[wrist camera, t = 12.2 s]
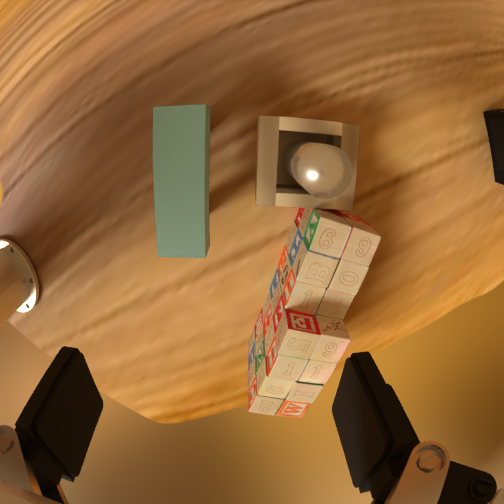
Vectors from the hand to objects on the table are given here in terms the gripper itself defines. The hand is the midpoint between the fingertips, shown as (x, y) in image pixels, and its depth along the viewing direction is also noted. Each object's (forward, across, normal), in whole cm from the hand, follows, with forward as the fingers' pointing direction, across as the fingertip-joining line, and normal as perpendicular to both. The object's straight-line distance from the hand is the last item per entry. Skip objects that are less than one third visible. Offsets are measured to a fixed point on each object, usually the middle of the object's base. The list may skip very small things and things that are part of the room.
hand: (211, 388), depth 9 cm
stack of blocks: (+25, -8, +9) cm, 28 cm away
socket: (+25, -7, -6) cm, 27 cm away
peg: (+24, -7, -6) cm, 25 cm away
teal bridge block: (+25, +3, -5) cm, 26 cm away
